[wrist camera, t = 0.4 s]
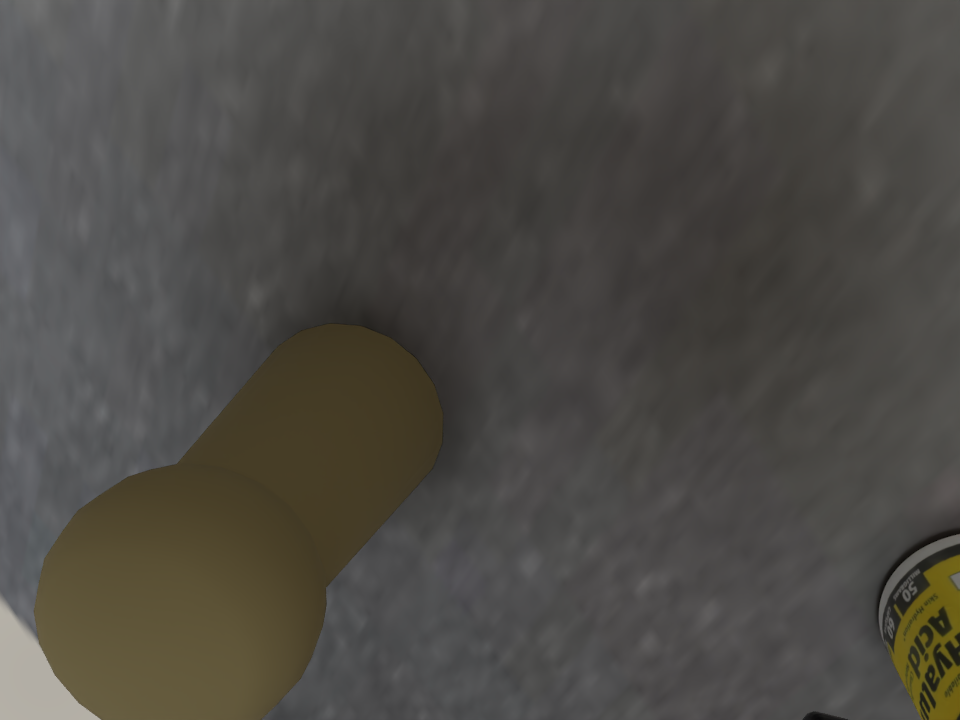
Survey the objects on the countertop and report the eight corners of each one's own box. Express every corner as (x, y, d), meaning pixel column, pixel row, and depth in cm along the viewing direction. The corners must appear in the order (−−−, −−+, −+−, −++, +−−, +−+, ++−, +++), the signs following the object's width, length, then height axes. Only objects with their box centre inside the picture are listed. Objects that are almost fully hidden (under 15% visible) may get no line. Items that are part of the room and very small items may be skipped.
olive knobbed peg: (310, 530, 24) (90, 831, 14) (220, 366, 23) (-95, 565, 13) (476, 471, 23) (365, 763, 12) (389, 291, 22) (184, 451, 11)
